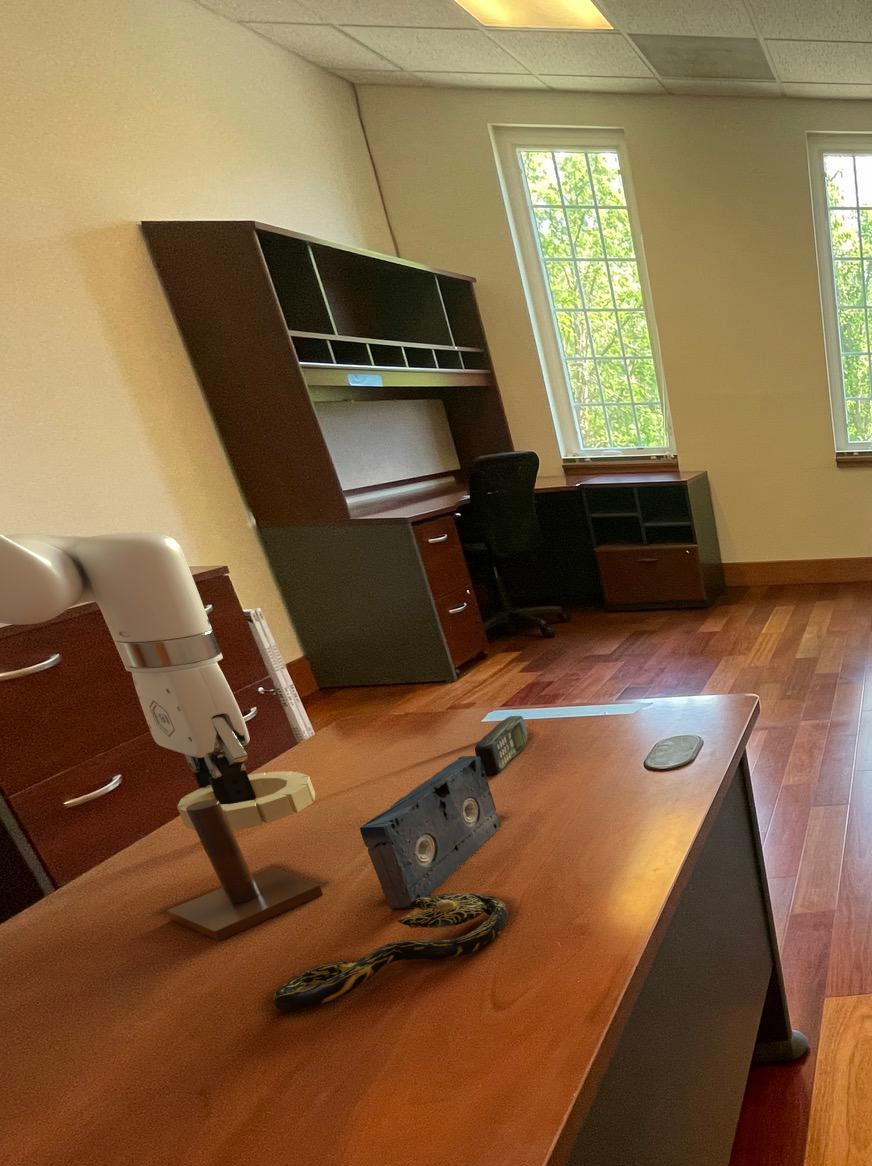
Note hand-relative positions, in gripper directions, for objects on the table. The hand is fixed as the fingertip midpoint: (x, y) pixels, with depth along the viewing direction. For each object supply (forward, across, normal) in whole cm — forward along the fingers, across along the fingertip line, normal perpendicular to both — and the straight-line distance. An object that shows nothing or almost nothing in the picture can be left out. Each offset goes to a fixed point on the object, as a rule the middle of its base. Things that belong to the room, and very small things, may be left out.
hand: (231, 800), depth 93 cm
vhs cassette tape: (+6, +27, +7) cm, 28 cm away
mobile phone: (+5, +4, +31) cm, 31 cm away
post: (+6, +16, -7) cm, 18 cm away
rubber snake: (+6, +40, -6) cm, 41 cm away
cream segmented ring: (0, +4, 0) cm, 4 cm away
